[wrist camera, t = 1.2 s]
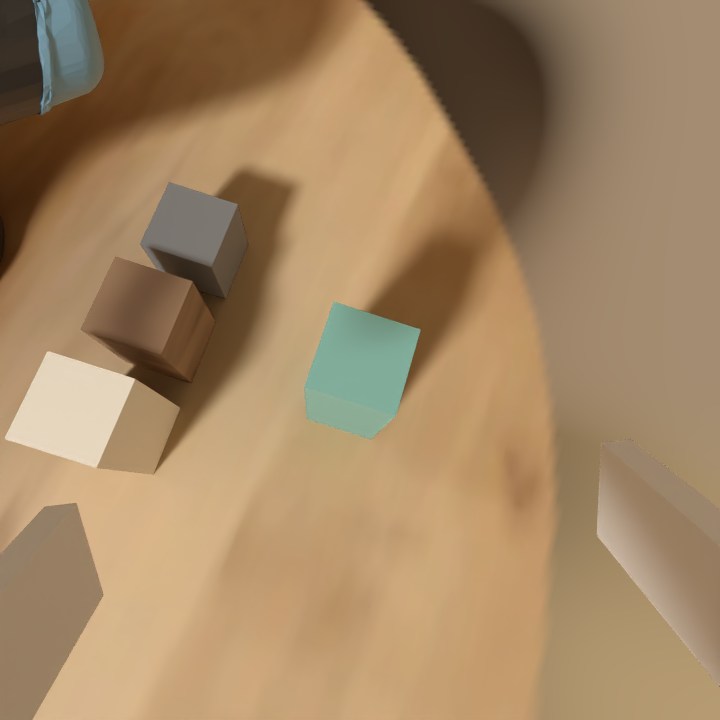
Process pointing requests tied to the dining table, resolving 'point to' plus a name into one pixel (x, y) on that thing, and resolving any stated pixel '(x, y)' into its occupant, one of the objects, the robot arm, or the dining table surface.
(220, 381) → the dining table surface
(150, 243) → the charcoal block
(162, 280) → the walnut block
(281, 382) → the dining table surface
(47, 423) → the cream block
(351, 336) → the teal block
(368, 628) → the dining table surface
